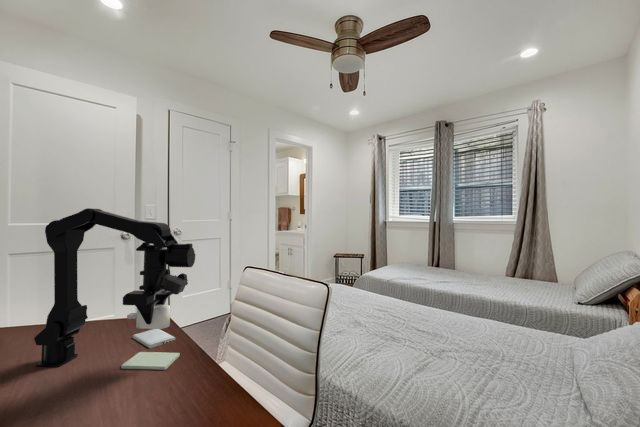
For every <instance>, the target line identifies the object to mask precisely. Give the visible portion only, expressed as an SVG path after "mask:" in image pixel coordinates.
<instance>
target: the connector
mask: <svg viewBox="0 0 640 427" xmlns="http://www.w3.org/2000/svg"><path fill="white" fill-rule="evenodd" d="M126 319H127V320H132V319H133V320H136V323H135V325H136V326H135V328H136V329H144V330H145V329H149V330H152V329H160V330H162V329H166V328H168V327H169V328H170V326H171V305H170V304H164V305H154V309H153V316H152V321H151V324H146V322H145V321H144V319H143V317H142V315H141V313H140V312H139V310H138V309H137V308H136V312H131V313H128V314H127V315H126Z"/></svg>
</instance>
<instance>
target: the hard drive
mask: <svg viewBox="0 0 640 427" xmlns="http://www.w3.org/2000/svg"><path fill="white" fill-rule="evenodd" d="M132 339H134V340H136V341H137V342H139V343H140V344H142V345H143V346H145V347H147V348H149V349H153V348H155V347H158V346H161V345H164V344H167V343H166V342H168V343H170V342H169V341H171V342H174V341H176V337H175V336H173V335H171V334H170V333H168V332H165V331H164V330H162V329H149V330H145V331H142V332H139V333H136V334H133V335H132ZM173 340H174V341H173ZM163 343H164V344H163Z"/></svg>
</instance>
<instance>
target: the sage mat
mask: <svg viewBox="0 0 640 427" xmlns="http://www.w3.org/2000/svg"><path fill="white" fill-rule="evenodd" d="M180 354H181V353H180V352H160V351H159V352H158V351H157V352H155V351H139V352H137V353H136V354H135V355H134V356H132V357H131V358H129V359H128V360H127V361H125V362H123V364H121V369H124V370H125V369H126V370H128V369H129V370H132V369H133V370H137V369H138V370H164V371H165V370H166V369H168V368H169V367H170V366H171V365H172V364H173V363H174V362H175V361H176V360H177V359H178V358H179V357H180Z"/></svg>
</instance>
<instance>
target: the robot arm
mask: <svg viewBox="0 0 640 427" xmlns="http://www.w3.org/2000/svg"><path fill="white" fill-rule="evenodd" d="M96 225H98V226H102V227H105V228H109V229H113V230H116V231H119V232H123V233H128V234H130V235H131V236H134V237H135V238H136V239H137V240H140V241H141V242H142V244H141V245H139V246H138V247H136V248H135V250H136V252H143V270H141V271H139V276H143V277H142V285H140V286H139V287H138V288H139V289H138V290H133V291H129V292H127V293H126V294H124V295H123V297H122V306H135V308H136V310H137V309H138V310H139V312H140V313H141V315H142V317H143V319H144V321H145V322H146V324H151V321H152V316H153V309H154V305H166V301H167V299H168V298H170V297H171V295H179V294H180V293H182V292H184V291H185V287H186V286H188V284H189V283H188V281H189V280H188V275H187V274H186V273H183V272H182V273H180V274H178V275H173V274H171V270H170V268H192V267H193V266H194V264H195V262H196V253H195V249H194V247H193V243H179V242H178V240H176V238H175V237H174V235H173V234H172V230H171V228H170V226H169V225H168V224H167V223H165V222H157V221H145V220H144V221H143V220H137V219H133V218H131V217H127V216H123V215H119V214H115V213H112V212H108V211H104V210H102V209H100V208H85V209H82V210H81V211H78V212H76V213H73V214H70V215H68V216H65V217H63V218H60V219H57V220H56V219H55V220H52V221H51V222H50V223H48V224H47V225H45V228H44V229H45V230H44V235H45V239H46V243H47V245H48V247H49V248H50V249H51V250H52V252H53V259H54V260H53V265H54V267H53V270H54V271H53V272H54V274H53V276H54V277H53V278H54V280H53V282H54V286H53V287H54V290H53V291H54V293H53V294H54V297H53V299H54V304H53V306H52V307H51V309H50V311H49V313H48V315H47V317H46V323H45V327H44V329H43V328H42V330H41V331H40V332H39V333H38V334H37V335H35V336H34V338H33V339H34V342H35V345H36V346H41V357H40V358H41V360H40V361H38V362H36V363H35V367H57V368H58V367H61V366H63V365H64V364H65V363H67V362H69V361H71V360H73V359H75V358H76V357H78V355H79V354H78V353H75V350H76V342H75V337H74V335H77V334H79V333H80V331H81V328H82V327H83V326H84V325H85V323H86V320H87V319H88V318H89V317H88V313H87V311H88V305H86V304H84V305H83V304H81V303H80V301H79V298H78V250H79V249H80V247H81V245H82V244H83V242H84V238H85V233H86V232H88V231H90V230H91V229H93V228H94V227H95V226H96ZM167 265H168V267H170V268H167Z"/></svg>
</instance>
